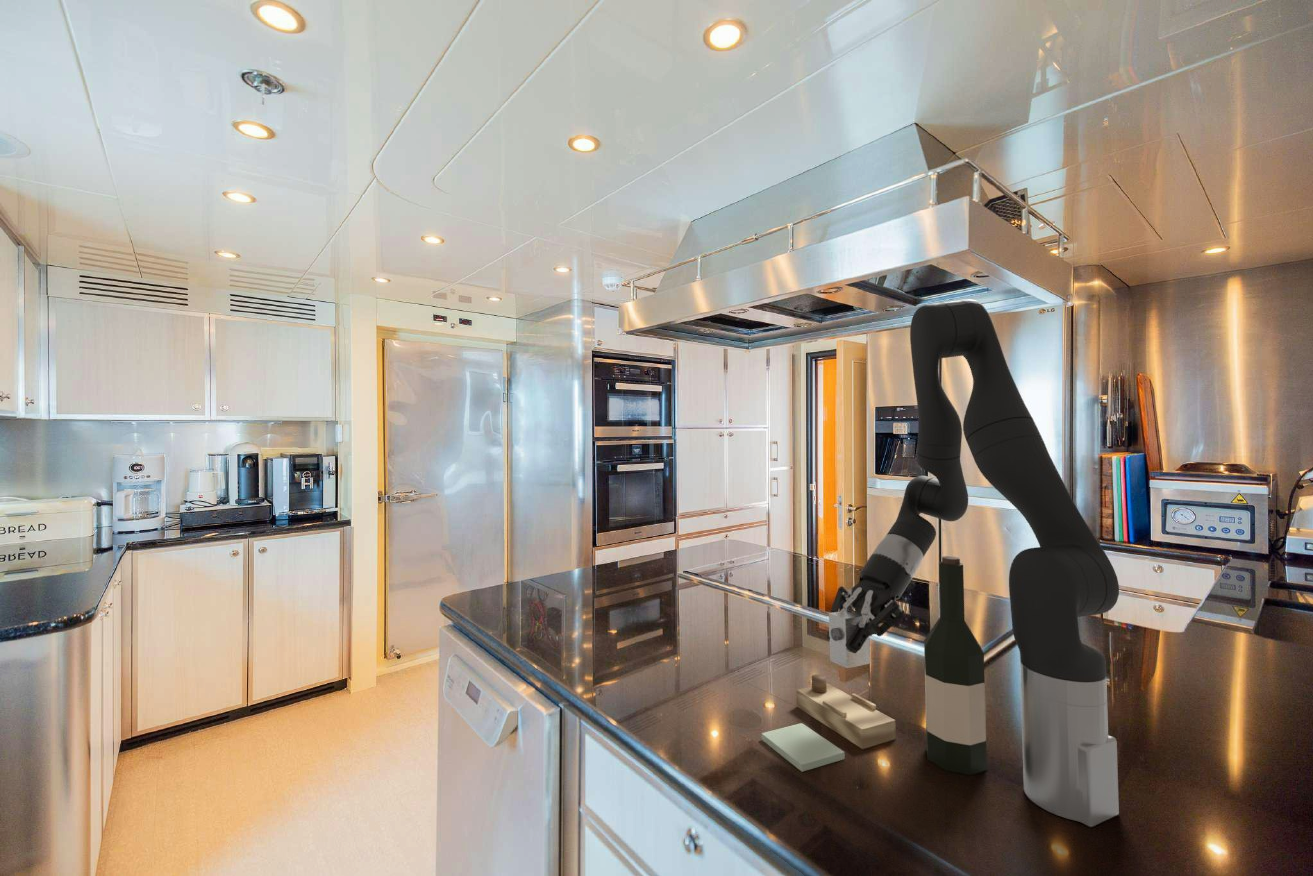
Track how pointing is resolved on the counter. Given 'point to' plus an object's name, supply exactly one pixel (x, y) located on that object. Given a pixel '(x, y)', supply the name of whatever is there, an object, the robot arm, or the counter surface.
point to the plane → (846, 713)
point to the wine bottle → (954, 682)
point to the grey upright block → (846, 639)
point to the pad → (802, 747)
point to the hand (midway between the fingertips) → (840, 645)
